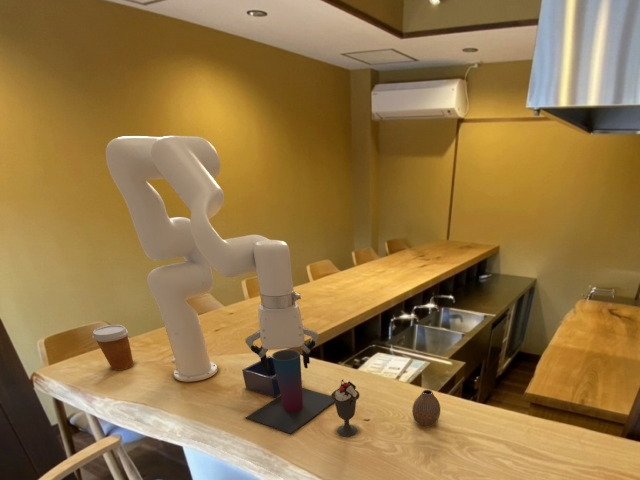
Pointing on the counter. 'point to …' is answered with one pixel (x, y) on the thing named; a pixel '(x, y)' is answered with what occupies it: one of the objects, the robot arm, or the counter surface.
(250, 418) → the mat
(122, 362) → the disposable coffee cup
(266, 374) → the holder
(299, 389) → the cup
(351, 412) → the sundae
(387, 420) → the counter surface
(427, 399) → the vase
